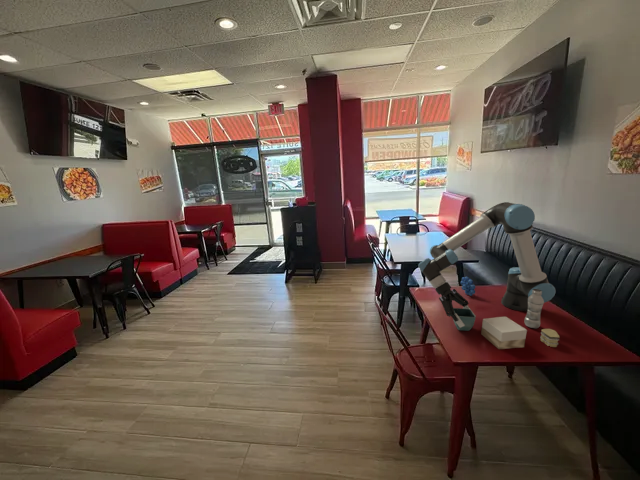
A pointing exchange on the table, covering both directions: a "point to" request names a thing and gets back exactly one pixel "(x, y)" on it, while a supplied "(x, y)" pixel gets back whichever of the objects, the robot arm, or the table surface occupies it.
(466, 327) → the flower pot
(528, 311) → the plastic bottle
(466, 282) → the grapes
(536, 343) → the table surface
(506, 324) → the top slab
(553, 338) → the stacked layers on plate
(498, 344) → the bottom slab
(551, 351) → the table surface
